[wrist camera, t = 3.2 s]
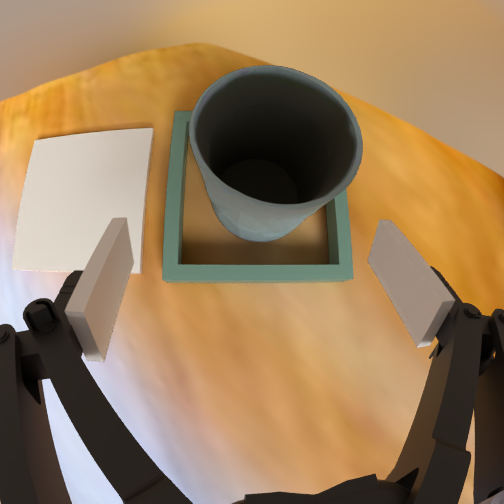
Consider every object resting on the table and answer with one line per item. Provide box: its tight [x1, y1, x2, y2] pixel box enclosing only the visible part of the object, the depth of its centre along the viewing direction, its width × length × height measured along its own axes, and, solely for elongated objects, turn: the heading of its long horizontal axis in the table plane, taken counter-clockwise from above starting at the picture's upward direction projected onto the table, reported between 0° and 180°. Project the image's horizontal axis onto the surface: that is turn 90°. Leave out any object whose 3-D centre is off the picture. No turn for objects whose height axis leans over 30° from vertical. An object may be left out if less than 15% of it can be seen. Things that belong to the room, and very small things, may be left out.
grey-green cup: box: [189, 65, 363, 242], centre depth 23 cm, size 10×10×12 cm
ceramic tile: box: [12, 128, 154, 274], centre depth 27 cm, size 14×14×1 cm
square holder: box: [162, 111, 353, 283], centre depth 27 cm, size 15×15×2 cm
